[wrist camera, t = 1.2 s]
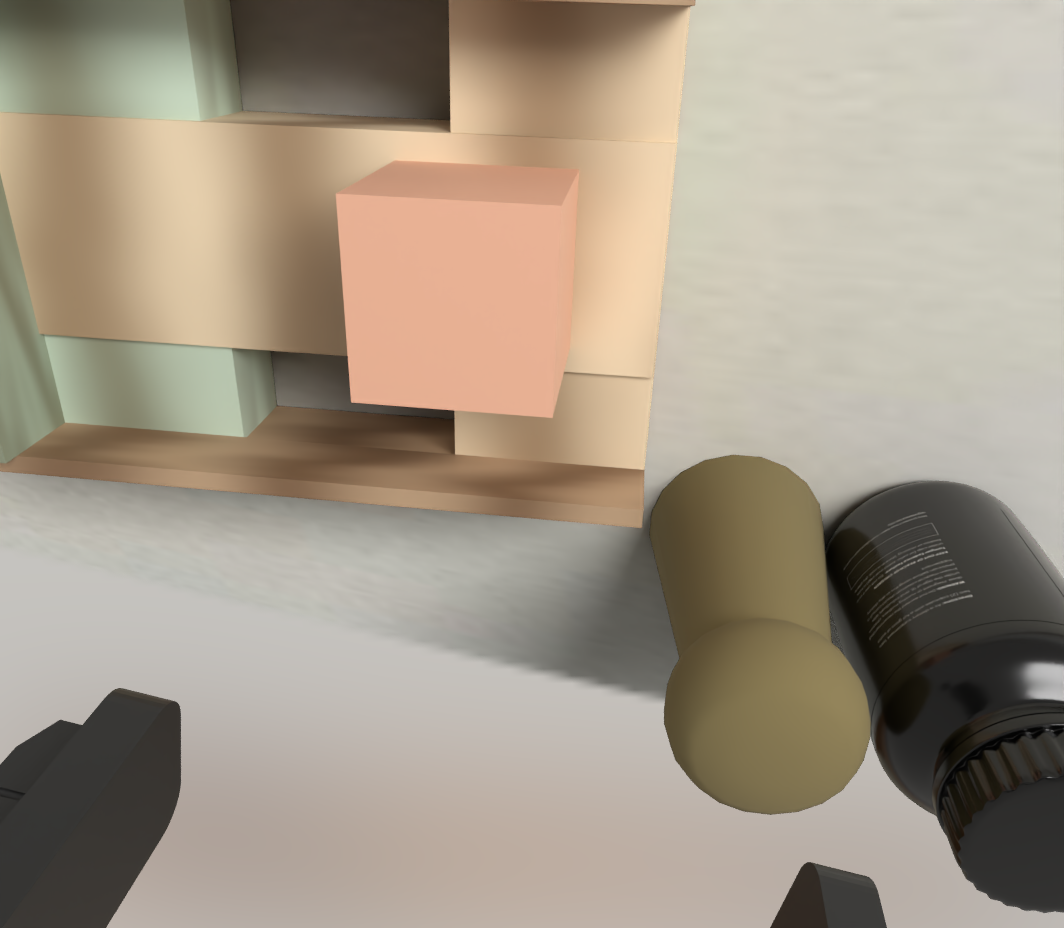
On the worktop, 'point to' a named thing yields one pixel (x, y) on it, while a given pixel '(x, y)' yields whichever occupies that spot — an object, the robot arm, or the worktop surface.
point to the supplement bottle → (962, 675)
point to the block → (459, 285)
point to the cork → (754, 639)
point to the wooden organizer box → (312, 254)
